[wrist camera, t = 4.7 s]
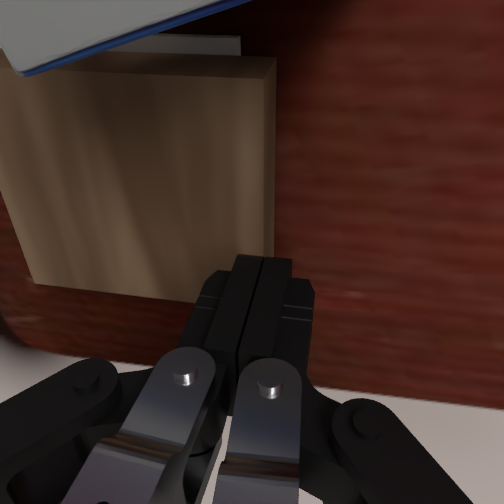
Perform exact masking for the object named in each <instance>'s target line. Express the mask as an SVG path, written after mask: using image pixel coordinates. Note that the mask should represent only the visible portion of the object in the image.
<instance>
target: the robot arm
mask: <svg viewBox="0 0 504 504" xmlns="http://www.w3.org/2000/svg"><path fill="white" fill-rule="evenodd" d="M314 298H315V292H314V290H313V288H312V285H311V283H310V281H309V279H299V278H292V259H286V258H277V257H267V256H266V257H264V256H256V255H246V254H237V256H236V259H235V262H234V264H233V267H232V270H231V271H225V270H217V271H215V272H214V273H213V274H212V275H211V276H210V277H209V278H208V279H206V280H205V282H204V284H203V287H202V289H201V292H200V294H199V297H198V299H197V301H196V303H195V307H194V308H193V310H192V313H191V315H190V317H189V320H188V322H187V324H186V327H185V329H184V331H183V334H182V336H181V338H180V341H179V343H178V345H177V348H176V349H174V350H172V351H170V352H168V353H166V354H165V355H164V356H162V358H161V359H160V360H159V361H158V362H157V364H156V366H155V367H153V368H149V369H146V370H140V371H133V372H125V373H118V372H117V369H116V368H115V366H114V365H113V364H112V363H110V362H109V361H107V360H104V359H99V358H90V359H85V360H81V361H78V362H76V363H74V364H72V365H70V366H68V367H66V368H64V369H63V370H61V371H59V372H57V373H55V374H53V375H52V376H50V377H48V378H46V379H44V380H42V381H41V382H39V383H37V384H35V385H33V386H31V387H30V388H28V389H26V390H24V391H22V392H20V393H19V394H17V395H15V396H13V397H11V398H9V399H8V400H6V401H4V402H2V403H0V504H201V501H202V498H203V495H204V492H205V490H206V487H207V484H208V481H209V478H210V475H211V473H212V470H213V467H214V464H215V461H216V459H217V456H218V453H219V450H220V447H221V444H222V433H223V429H224V426H225V422H226V418H227V416H232V422H231V428H230V434H229V439H228V445H227V451H226V456H225V460H224V461H222V462H221V464H220V467H219V471H218V476H217V481H216V487H215V492H214V498H213V503H212V504H298V498H299V497H298V496H299V488H301V489H302V490H304V491H306V492H308V493H309V494H311V495H313V496H315V497H317V498H318V499H320V500H322V501H323V504H473V503H472V501H471V500H470V499H469V498H468V497H467V496H466V495H465V494H464V492H463V491H462V490H461V489H460V488H459V487H458V486H457V484H455V482H454V481H453V480H452V479H451V478H450V476H449V475H448V474H447V473H446V472H445V471H444V470H443V468H442V467H441V466H440V465H439V464H438V463H437V462H436V461H435V459H434V458H433V457H432V456H431V455H430V454H429V453H428V452H427V450H426V449H425V448H424V447H423V446H422V445H421V444H420V442H419V441H418V440H417V439H416V438H415V437H414V436H413V434H412V433H411V432H410V431H409V430H408V429H407V428H406V427H405V425H403V423H402V422H401V421H400V420H399V419H398V417H397V416H396V415H395V414H394V413H393V412H392V411H391V410H390V409H389V408H387V407H386V406H385V405H383V404H381V403H379V402H377V401H374V400H370V399H364V398H360V399H359V398H357V399H351V400H348V401H346V402H344V403H343V404H341V403H339V402H337V401H335V400H332V399H330V398H328V397H326V396H324V395H323V394H321V393H320V392H318V391H317V390H316V389H315V388H314V387H313V386H312V384H311V383H310V381H309V379H308V377H307V375H306V373H307V366H308V358H309V349H310V342H311V334H312V322H313V310H314Z"/></svg>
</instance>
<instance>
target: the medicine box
mask: <svg viewBox="0 0 504 504" xmlns="http://www.w3.org/2000/svg"><path fill="white" fill-rule="evenodd" d="M249 1H252V0H0V46H1V48H2V50H3V51H4V53H5V55H6V57H7V59H8V61H9V62H10V64H11V66H12V68H13V70H14V71H15V73H16V74H17V75H19V76H20V77H29V76H33V75H36V74H39V73H42V72H46V71H49V70H52V69H55V68H58V67H61V66H63V65H66V64H69V63H72V62H75V61H78V60H81V59H83V58H86V57H89V56H92V55H95V54H98V53H101V52H104V51H106V50H109V49H112V48H115V47H118V46H121V45H124V44H127V43H130V42H133V41H136V40H138V39H141V38H144V37H147V36H150V35H153V34H156V33H159V32H162V31H165V30H168V29H171V28H174V27H177V26H180V25H182V24H185V23H188V22H191V21H194V20H197V19H200V18H203V17H206V16H209V15H212V14H215V13H217V12H220V11H223V10H226V9H229V8H232V7H235V6H238V5H241V4H244V3H246V2H249Z"/></svg>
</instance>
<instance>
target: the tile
mask: <svg viewBox="0 0 504 504" xmlns="http://www.w3.org/2000/svg"><path fill="white" fill-rule="evenodd" d="M276 69H277V57H264V56H235V55H206V54H176V53H147V52H118V51H104V52H101V53H98V54H95V55H92V56H89V57H86V58H83V59H81V60H78V61H75V62H72V63H69V64H66V65H63V66H61V67H58V68H55V69H52V70H49V71H46V72H42V73H39V74H36V75H33V76H29V77H20V76H19V75H17V74H16V73H15V71H14V70H13V68H12V66H11V64H10V62H9V61H8V59H7V57H6V55H5V53H4V51H3V50H2V48H0V191H1V193H2V196H3V199H4V201H5V204H6V207H7V210H8V212H9V215H10V218H11V220H12V223H13V226H14V229H15V231H16V234H17V237H18V239H19V242H20V245H21V248H22V250H23V253H24V256H25V258H26V261H27V264H28V267H29V269H30V272H31V275H32V277H33V280H34V283H36V284H44V285H52V286H60V287H68V288H77V289H85V290H93V291H101V292H109V293H117V294H125V295H133V296H141V297H150V298H158V299H166V300H174V301H182V302H190V303H196V301H197V299H198V297H199V294H200V292H201V289H202V287H203V284H204V282H205V280H206V279H208V278H209V277H210V276H211V275H212V274H213V273H214V272H215V271H217V270H225V271H231V270H232V267H233V264H234V262H235V259H236V256H237V254H246V255H256V256H264V257H266V256H267V257H274V199H275V134H276Z"/></svg>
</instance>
